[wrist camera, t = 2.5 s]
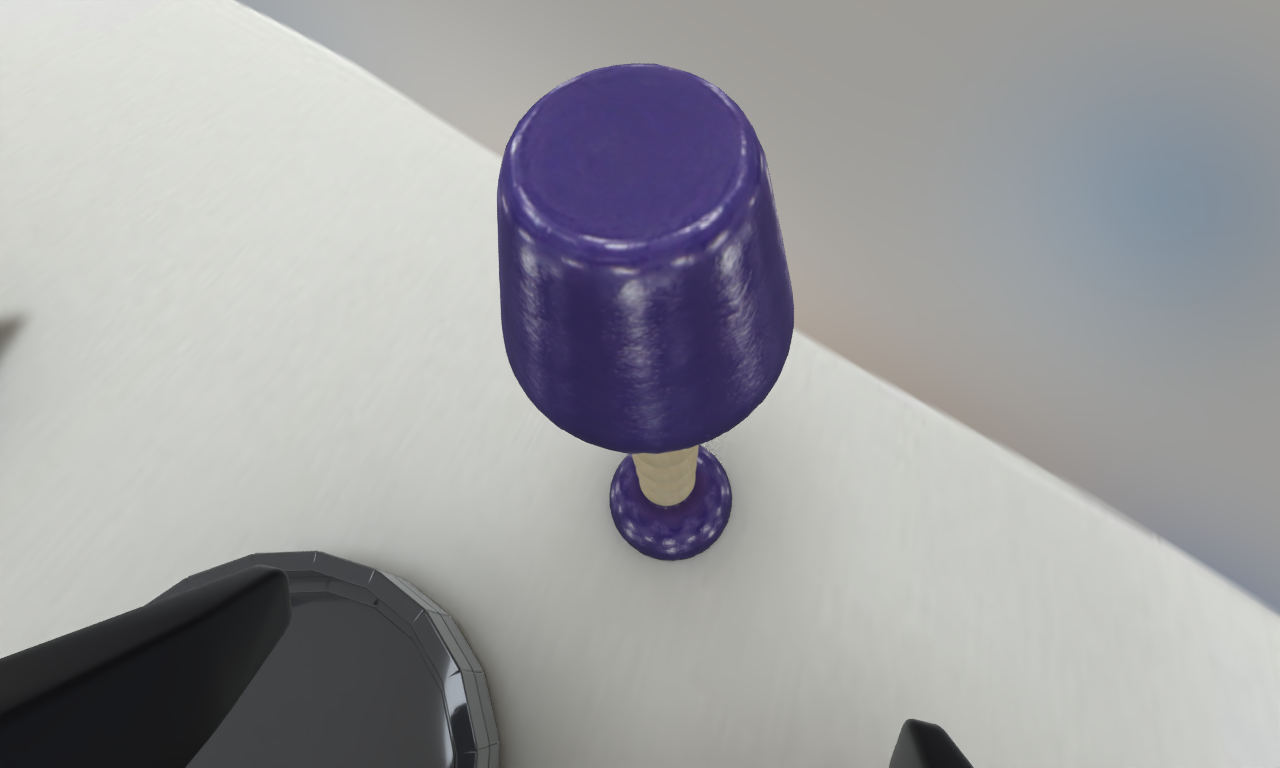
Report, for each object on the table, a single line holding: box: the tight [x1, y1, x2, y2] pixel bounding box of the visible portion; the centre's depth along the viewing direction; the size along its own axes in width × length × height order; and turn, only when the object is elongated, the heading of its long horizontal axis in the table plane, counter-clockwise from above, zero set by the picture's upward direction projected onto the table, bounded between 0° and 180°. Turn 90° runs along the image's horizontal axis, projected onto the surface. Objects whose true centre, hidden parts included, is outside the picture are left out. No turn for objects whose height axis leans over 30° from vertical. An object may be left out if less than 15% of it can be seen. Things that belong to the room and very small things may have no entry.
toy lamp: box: [497, 64, 794, 560], centre depth 14 cm, size 5×5×17 cm
